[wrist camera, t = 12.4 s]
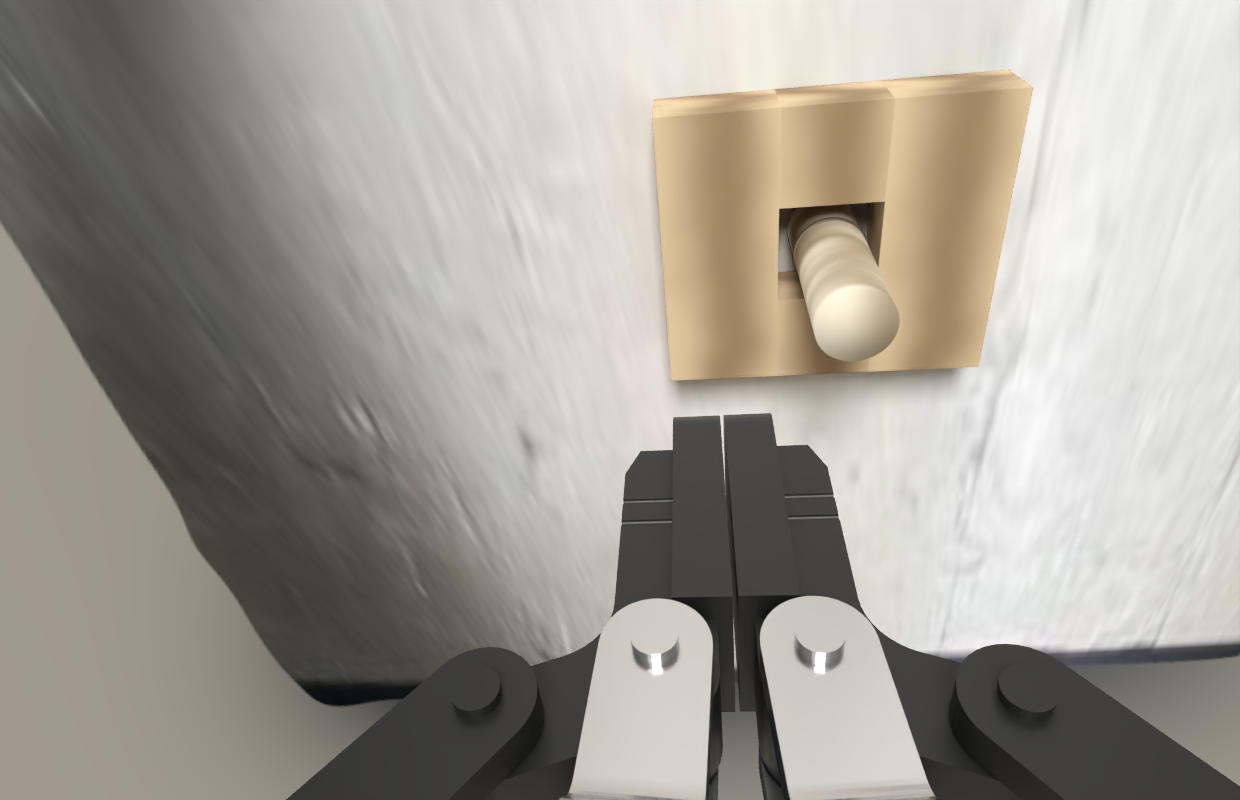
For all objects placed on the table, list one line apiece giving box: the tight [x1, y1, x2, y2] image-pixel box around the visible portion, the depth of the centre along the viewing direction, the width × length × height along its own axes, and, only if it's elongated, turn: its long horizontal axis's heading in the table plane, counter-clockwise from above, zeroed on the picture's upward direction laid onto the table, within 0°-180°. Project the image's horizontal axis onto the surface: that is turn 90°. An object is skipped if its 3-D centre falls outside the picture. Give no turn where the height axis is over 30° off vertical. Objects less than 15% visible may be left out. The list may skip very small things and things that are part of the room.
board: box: [652, 70, 1033, 381], centre depth 39 cm, size 16×14×3 cm
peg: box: [788, 204, 900, 361], centre depth 36 cm, size 4×4×10 cm
